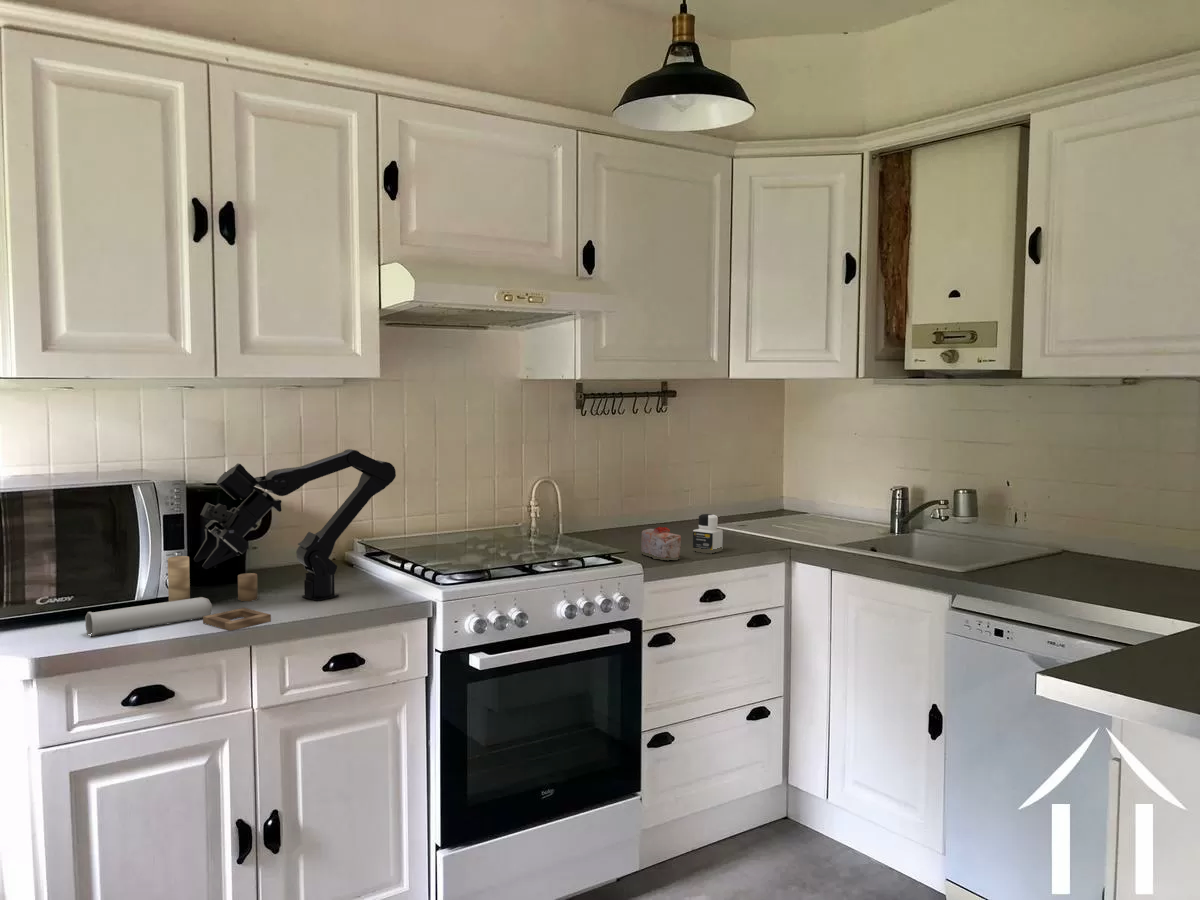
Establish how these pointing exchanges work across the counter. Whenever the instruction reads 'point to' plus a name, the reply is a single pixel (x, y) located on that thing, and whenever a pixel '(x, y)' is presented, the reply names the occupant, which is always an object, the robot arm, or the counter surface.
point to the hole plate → (249, 619)
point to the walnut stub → (247, 587)
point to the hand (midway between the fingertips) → (199, 564)
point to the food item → (660, 542)
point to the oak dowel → (178, 578)
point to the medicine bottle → (708, 533)
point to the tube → (146, 615)
